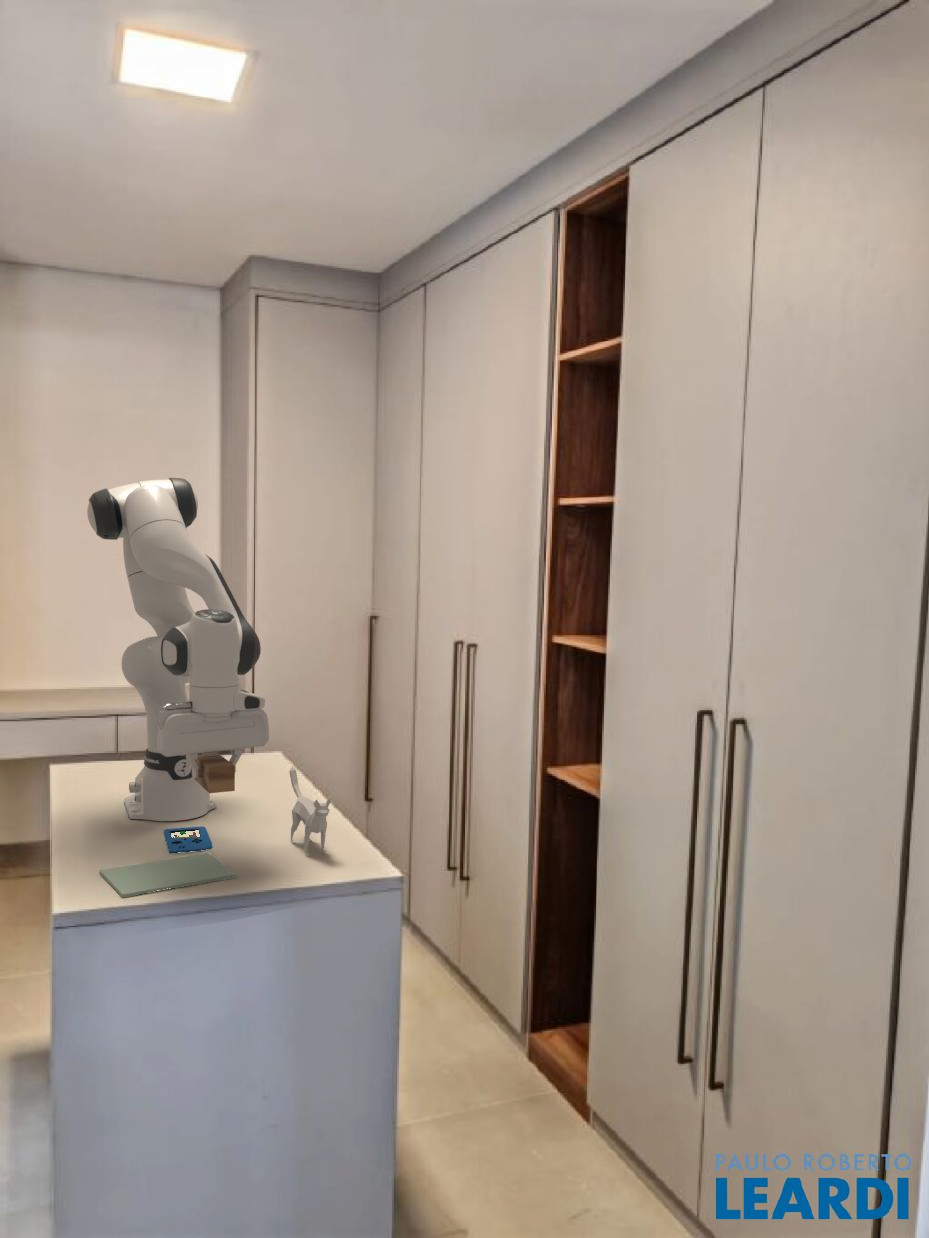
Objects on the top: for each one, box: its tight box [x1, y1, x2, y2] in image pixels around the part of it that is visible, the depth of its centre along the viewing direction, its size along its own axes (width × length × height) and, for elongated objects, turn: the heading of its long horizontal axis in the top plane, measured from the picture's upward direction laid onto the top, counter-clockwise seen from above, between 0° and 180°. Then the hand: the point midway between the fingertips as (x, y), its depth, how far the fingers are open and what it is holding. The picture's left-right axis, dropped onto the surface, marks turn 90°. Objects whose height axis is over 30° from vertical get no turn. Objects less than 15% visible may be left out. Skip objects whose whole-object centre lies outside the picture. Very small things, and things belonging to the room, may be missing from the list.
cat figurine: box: [289, 765, 332, 857], centre depth 198 cm, size 4×20×14 cm, turn 28°
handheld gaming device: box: [163, 825, 213, 854], centre depth 201 cm, size 8×1×15 cm
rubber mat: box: [99, 852, 237, 898], centre depth 180 cm, size 14×20×1 cm
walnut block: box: [194, 753, 236, 794], centre depth 184 cm, size 11×4×5 cm, turn 28°
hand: (214, 775), depth 184 cm, fingers closed on walnut block, 5 cm apart
